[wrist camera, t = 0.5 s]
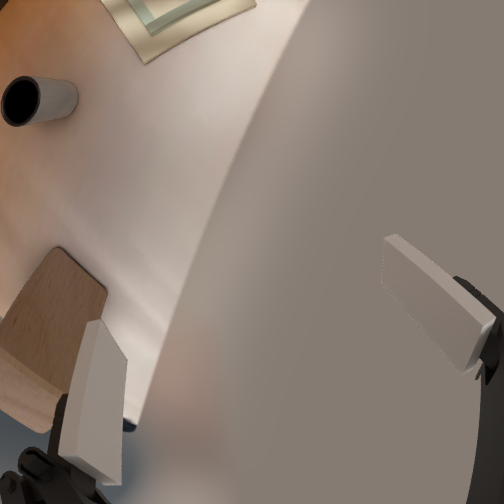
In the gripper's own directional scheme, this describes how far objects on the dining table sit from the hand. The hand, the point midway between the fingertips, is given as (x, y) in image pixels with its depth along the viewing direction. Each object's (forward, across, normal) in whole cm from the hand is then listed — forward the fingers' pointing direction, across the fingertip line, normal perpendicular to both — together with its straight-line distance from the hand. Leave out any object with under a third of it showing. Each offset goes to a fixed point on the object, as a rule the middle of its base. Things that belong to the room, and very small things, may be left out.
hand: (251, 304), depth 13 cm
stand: (+25, +1, +23) cm, 34 cm away
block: (+25, -23, -9) cm, 35 cm away
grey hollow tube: (+25, -14, +14) cm, 32 cm away
